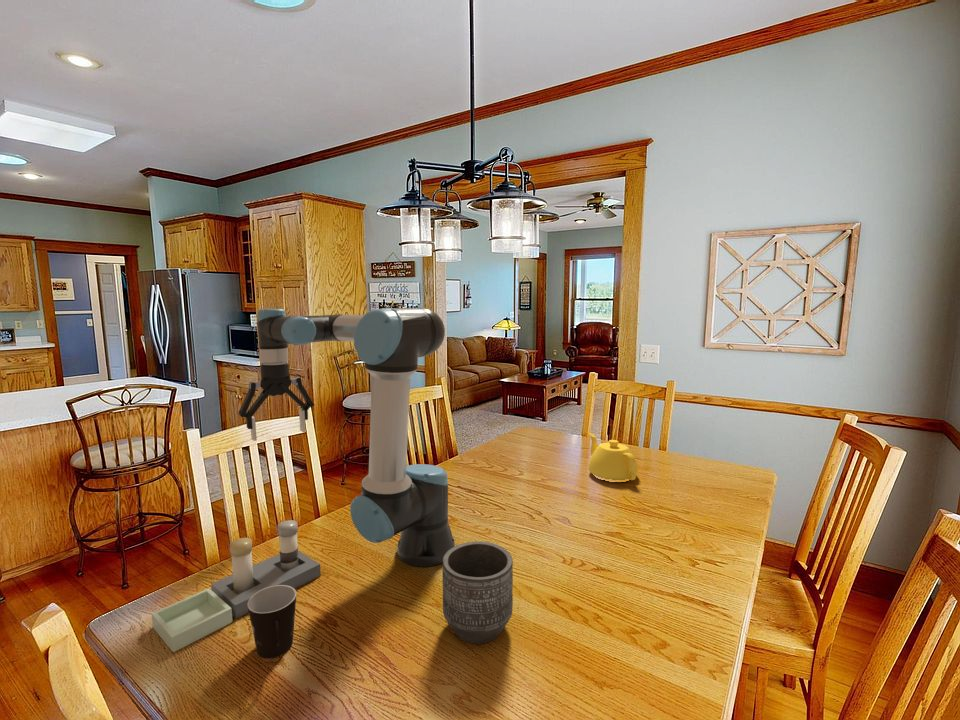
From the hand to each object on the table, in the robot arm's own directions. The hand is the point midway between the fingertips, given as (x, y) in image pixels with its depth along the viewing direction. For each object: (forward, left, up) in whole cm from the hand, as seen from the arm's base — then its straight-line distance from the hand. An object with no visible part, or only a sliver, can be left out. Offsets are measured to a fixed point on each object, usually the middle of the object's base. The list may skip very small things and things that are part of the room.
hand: (279, 435), depth 139 cm
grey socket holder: (-27, +19, -27) cm, 42 cm away
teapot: (-59, -98, -27) cm, 118 cm away
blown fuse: (-27, +13, -27) cm, 40 cm away
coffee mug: (-48, +29, -27) cm, 62 cm away
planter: (-74, -1, -27) cm, 78 cm away
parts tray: (-28, +35, -27) cm, 52 cm away
